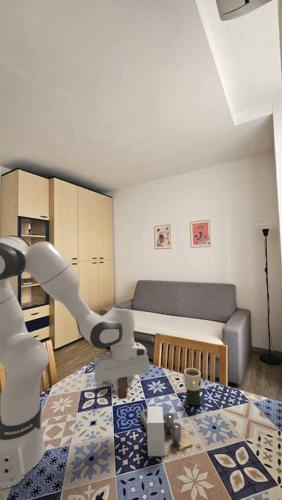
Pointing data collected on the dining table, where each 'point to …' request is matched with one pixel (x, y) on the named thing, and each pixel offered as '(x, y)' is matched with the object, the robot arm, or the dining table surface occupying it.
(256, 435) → the dining table surface
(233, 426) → the dining table surface
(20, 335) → the robot arm
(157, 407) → the small box
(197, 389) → the character mug
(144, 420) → the grey partly piece
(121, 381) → the dowel
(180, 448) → the dogs
